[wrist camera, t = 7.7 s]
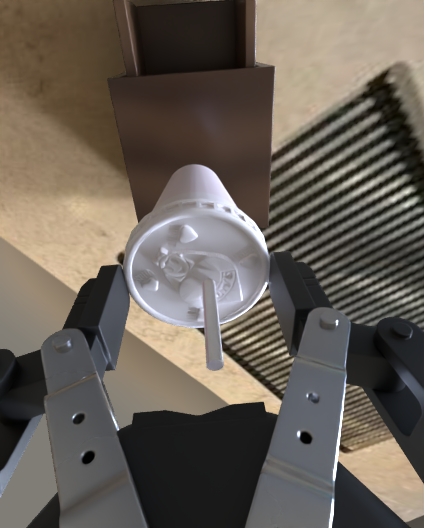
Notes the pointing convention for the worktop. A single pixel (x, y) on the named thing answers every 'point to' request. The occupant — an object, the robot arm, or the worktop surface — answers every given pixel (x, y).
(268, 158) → the cabinet
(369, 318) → the worktop surface
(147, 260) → the smoothie
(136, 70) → the drawer
